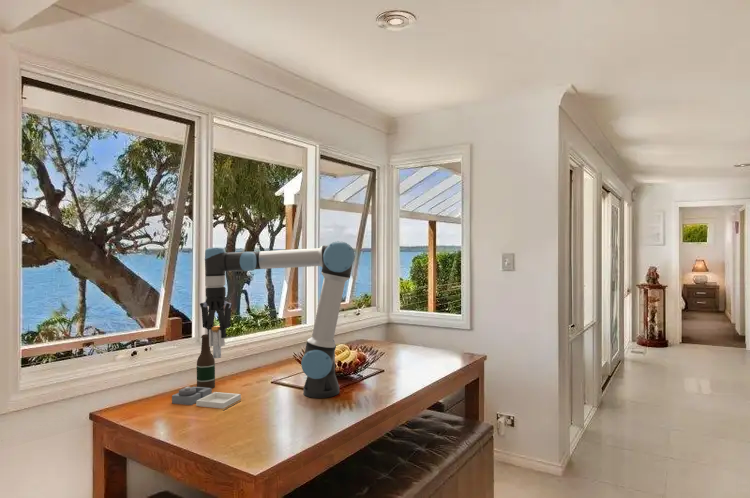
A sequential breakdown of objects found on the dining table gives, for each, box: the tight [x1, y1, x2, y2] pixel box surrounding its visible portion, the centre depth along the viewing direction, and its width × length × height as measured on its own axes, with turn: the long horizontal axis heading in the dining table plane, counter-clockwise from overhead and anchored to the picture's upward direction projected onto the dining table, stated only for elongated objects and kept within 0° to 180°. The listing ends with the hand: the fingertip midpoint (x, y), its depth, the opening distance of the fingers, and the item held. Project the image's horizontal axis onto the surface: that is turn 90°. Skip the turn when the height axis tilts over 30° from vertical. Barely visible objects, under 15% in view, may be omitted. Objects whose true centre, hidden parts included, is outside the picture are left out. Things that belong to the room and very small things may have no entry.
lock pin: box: [211, 325, 222, 359], centre depth 192 cm, size 4×4×12 cm
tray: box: [195, 391, 242, 412], centre depth 191 cm, size 12×12×3 cm
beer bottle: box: [196, 333, 216, 389], centre depth 213 cm, size 8×8×24 cm
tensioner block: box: [171, 386, 213, 406], centre depth 196 cm, size 13×9×7 cm
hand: (216, 345), depth 192 cm, fingers closed on lock pin, 4 cm apart
